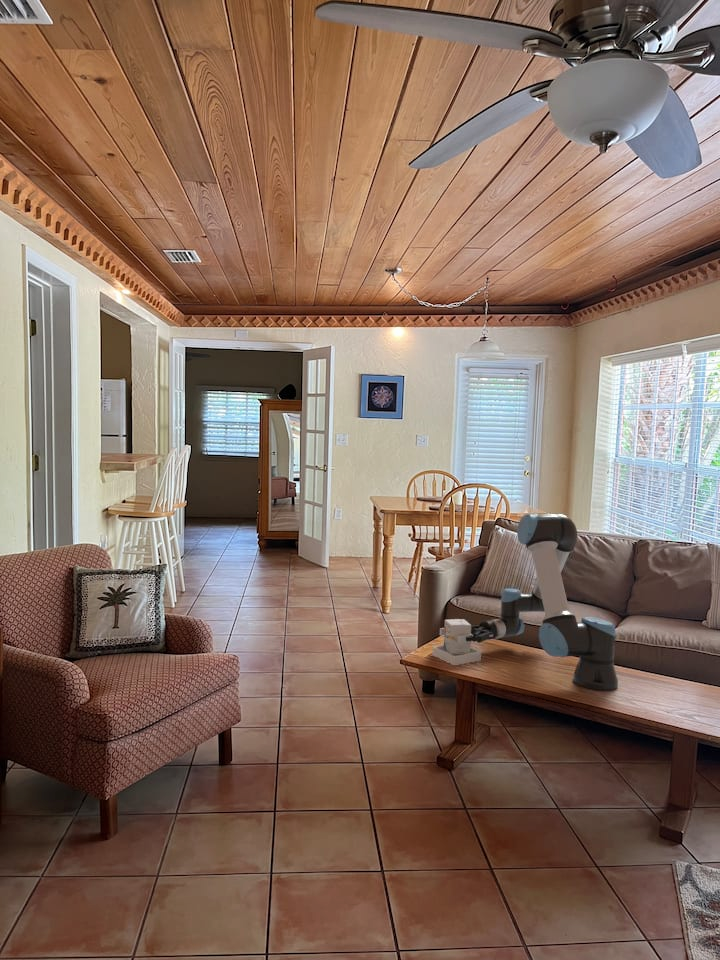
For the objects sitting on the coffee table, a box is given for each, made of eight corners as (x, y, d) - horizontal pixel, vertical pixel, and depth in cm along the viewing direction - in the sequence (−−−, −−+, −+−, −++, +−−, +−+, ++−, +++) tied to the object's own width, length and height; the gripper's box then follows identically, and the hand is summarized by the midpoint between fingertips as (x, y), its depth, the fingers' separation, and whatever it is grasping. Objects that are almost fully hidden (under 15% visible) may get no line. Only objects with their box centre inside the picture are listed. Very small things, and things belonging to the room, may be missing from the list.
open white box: (480, 660, 257) (481, 652, 257) (453, 665, 250) (454, 656, 250) (458, 651, 268) (459, 642, 268) (432, 655, 261) (432, 646, 261)
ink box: (442, 647, 263) (444, 618, 262) (463, 647, 264) (464, 618, 264) (449, 654, 254) (451, 624, 253) (470, 654, 256) (471, 624, 255)
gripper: (511, 646, 258) (468, 653, 247) (472, 631, 278) (430, 637, 267) (512, 627, 258) (469, 634, 247) (473, 613, 278) (431, 619, 266)
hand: (449, 635), depth 257 cm, fingers closed on ink box, 10 cm apart
